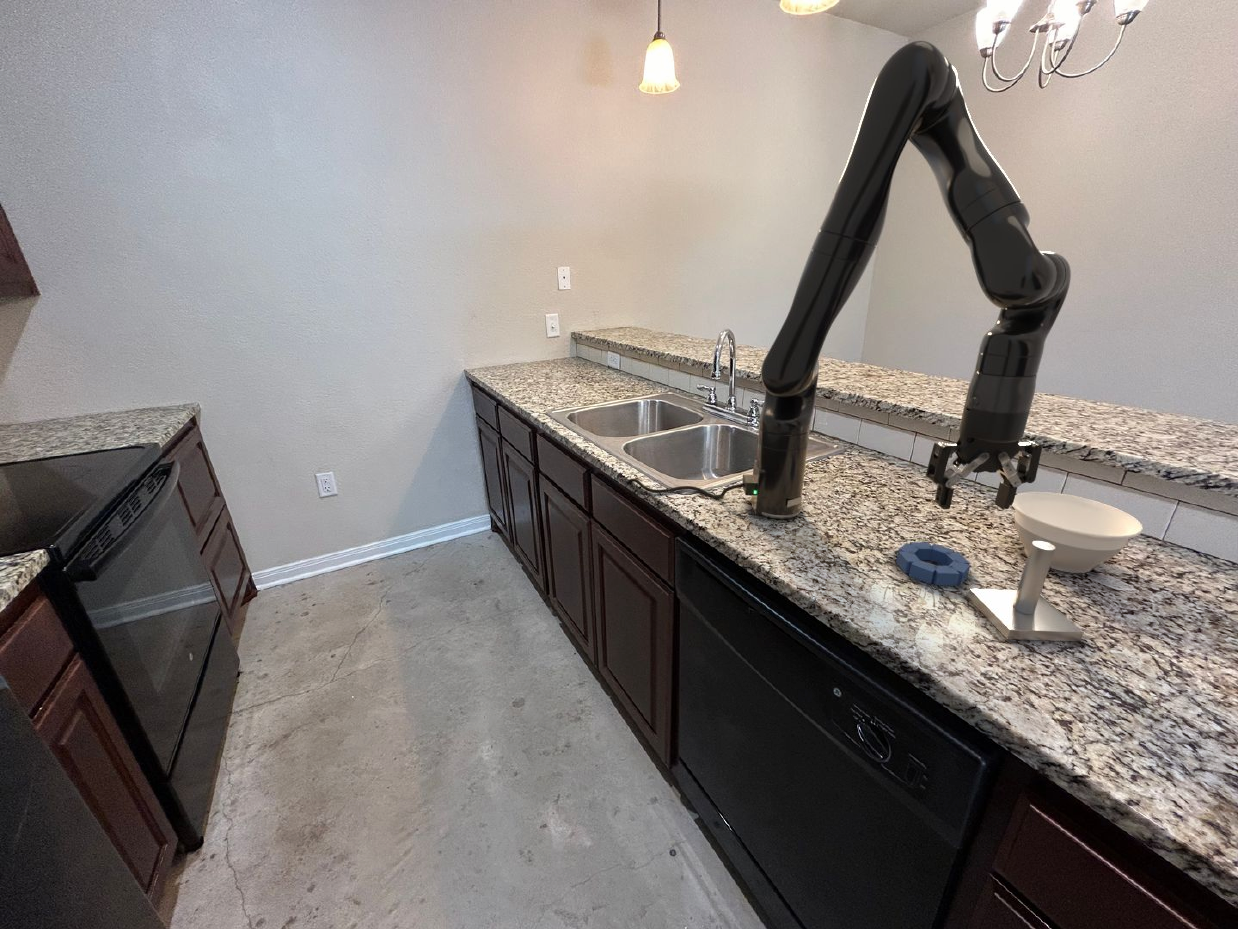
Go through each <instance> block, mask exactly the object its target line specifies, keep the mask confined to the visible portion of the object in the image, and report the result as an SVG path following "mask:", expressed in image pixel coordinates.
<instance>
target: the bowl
mask: <svg viewBox="0 0 1238 929" xmlns="http://www.w3.org/2000/svg"><path fill="white" fill-rule="evenodd" d="M1011 506H1012V508H1013V509H1014V510H1015V514H1014V528H1015V530H1016V533H1017V536H1018V539H1019V540H1020V542H1021V543H1022V545H1023V547H1024V554H1025V555H1026V557H1028V554H1029V551H1030V548H1031V545H1032V542H1033V541H1043V542H1047V543H1049V544H1052V545H1053V546H1055V548H1056V550H1055V553H1054V556H1053V559H1052V562H1051V565H1050V568H1049V569H1053V570H1057V571H1059V572H1067V573H1072V574H1084V573H1085V574H1086V573H1089V572H1091V571H1092V570H1093V568H1094V567H1097V566H1099V565H1101V564H1103V563H1105V562H1107V561H1109V560H1110V559H1112V558H1114V557H1115V556H1117V555H1119V553H1120V552H1121V551H1122V550H1123V549H1124V548H1125V547H1126V545H1127V544H1128V542H1129V539H1131V538H1136V537H1138V536H1139V535H1141V534H1142V533H1143V532H1144V528H1143V524H1142V522H1140V520H1138V519H1137V518H1136V517H1134V516H1133V515H1131V514H1129V513H1128V512H1126V511H1123V510H1121V509H1119V508H1117V507H1115V506H1112V505H1109V504H1106V503H1104V502H1100V501H1098V500H1097V501H1096V500H1093V499H1090V498H1086V497H1081V496H1078V495H1072V494H1065V493H1059V492H1050V491H1025V492H1020V493H1018V494H1017V493H1016V495H1015V498H1014V502H1013V504H1012V505H1011Z"/></svg>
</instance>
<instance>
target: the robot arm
mask: <svg viewBox="0 0 1238 929" xmlns="http://www.w3.org/2000/svg"><path fill="white" fill-rule="evenodd" d="M965 101H966V100H965V98H964V94H963V92H962V88H961V85H960V81H959V79H958V72H957V70H956V68H955V66H954V65H953V64H952V63H951V61H950V60H949V59H948V58H947V57H946V55H945V54H944V53H943V52H942V51H941V50H940V49H939V48H938V47H937V46H936V45H934V44H933V43H931V42H929V41H928V40H927V41H926V40H915V41H914V40H913V41H911V42H909V43H906V44H905V45H903V46H902V47H901V48H898V50H896V51H895V52H894V53H893V54H892V55H891V56H890V57H889V58H888V60H886V62H885V63H884V65H883V66H882V67H881V69H880V71H879V72H878V74H877V76H876V78H875V81H874V82H873V85H872V87H871V89H870V93H869V95H868V98H867V102H866V104H865V107H864V111H863V114H862V117H861V120H860V123H859V126H858V130H857V133H856V136H855V139H854V142H853V145H852V148H851V151H850V154H849V157H848V160H847V162H846V164H845V167H844V170H843V172H842V174H841V177H840V179H839V181H838V183H837V186H836V188H835V191H834V194H833V197H832V199H831V202H830V204H829V206H828V209H827V211H826V214H825V216H824V218H823V220H822V223H821V224H820V227H819V229H818V231H817V234H816V236H815V238H814V241H813V244H812V245H811V248H810V250H809V253H808V256H807V259H806V261H805V264H804V267H803V269H802V272H801V276H800V278H799V280H798V284H797V286H796V289H795V293H794V296H793V299H792V302H791V305H790V308H789V310H788V313H787V314H786V317H785V320H784V321H783V324H782V325H781V328H780V330H779V331H778V334H777V335H776V338H775V339H774V340H773V343H772V345H771V346H770V348H769V350H768V352H767V353H766V355H765V357H764V359H763V360H762V364H761V367H760V379H761V382H762V385H763V387H764V389H765V394H764V401H763V404H762V408H761V411H760V415H759V423H758V426H759V428H758V440H757V450H756V459H755V460H754V461H753V468H752V474H742V483H739V484H733V485H730V486H727V487H726V488H724V489H723V490H722V492H721V493H720V494H712V493H710V492H709V491H706V490H704V489H703V488H700V487H696V486H692V485H682V486H675V487H670V488H663V489H657V488H656V489H655V488H650V487H648V486H647V485H644V483H642V482H641V481H640V480H639V479H637V478H630V479H628V480H627V481H626V484H631V483H632V482H633V483H636V484H637V485H638V486H640V487H641V488H642V489H643V490H645V491H646V492H649V493H653V494H664V493H672V492H676V491H681V490H692V491H697V492H699V493H701V494H703V495H706V496H708V497H710V498H712V499H716V500H718V499H722V498H724V497H725V495H726V493H727V492H729V491H732V490H735V489H739V488H742V490H743V492H744V495H745V496H750V504H751V508H752V510H753V511H754V514H755V515H756V516H763V517H766V518H769V519H778V520H779V519H780V520H786V519H793V518H796V517H797V516H799V515H800V514H801V511H802V507H801V506H802V499H803V497H802V496H803V489H804V482H805V473H806V464H807V456H808V448H809V439H810V432H811V431H810V430H811V424H812V419H813V415H814V410H815V402H816V397H817V396H816V395H817V388H818V381H819V380H818V379H819V371H820V360H819V357H820V354H821V352H822V349H823V346H824V344H825V341H826V339H827V337H828V335H829V332H830V330H831V327H832V325H833V324H834V323H835V321H836V319H837V317H838V316H839V314H840V313H841V312H842V310H843V308H844V307H845V305H846V304H847V302H848V301H849V299H850V298H851V296H852V295H853V293H854V291H855V289H856V288H857V286H858V284H859V282H860V281H861V279H862V277H863V275H864V273H865V272H866V270H867V268H868V266H869V263H870V261H871V259H872V257H873V255H874V253H875V251H876V249H877V246H878V245H879V242H880V239H881V238H882V234H883V232H884V227H885V224H886V221H887V220H886V218H887V214H888V208H889V202H890V195H891V189H892V183H893V179H894V175H895V172H896V168H897V165H898V162H899V160H900V158H901V156H902V153H903V151H904V149H905V147H906V145H907V143H908V141H909V142H910V144H911V145H912V146H913V147H914V148H915V149H916V150H917V152H918V153H920V154H921V156H922V157H923V159H924V160H925V161H926V163H927V165H928V166H929V168H930V170H931V172H932V174H933V176H934V178H935V181H936V184H937V188H938V190H939V193H940V196H941V199H942V202H943V204H944V207H945V209H946V211H947V213H948V215H949V217H950V219H951V221H952V223H953V224H954V226H955V229H957V231H958V233H959V235H960V236H961V238H962V240H963V242H964V243H965V244H966V247H968V249H969V253H970V259H971V262H972V266H973V269H974V273H975V276H976V280H977V282H978V285H979V287H980V289H981V291H982V293H983V294H984V296H985V297H986V298H987V300H988V301H989V302H990V303H991V304H993V305H994V306H995V307H997V308H1000V311H999V314H998V316H997V319H996V321H995V324H994V325H993V327H992V328H990V329H989V330H987V331H986V332H985V334H984V335H983V336H982V338H981V341H980V344H979V347H978V348H979V349H978V352H977V357H976V362H975V366H974V371H973V374H972V376H971V379H970V382H969V384H968V388H967V392H966V398H965V402H964V406H963V411H962V416H961V419H960V424H959V429H958V430H959V437H958V439H957V441H956V442H955V443H946V442H943V441H941V440H937V441H935V442H934V443H933V445H932V446H933V447H932V449H931V450H932V451H931V453H930V458H929V462H928V464H927V468H926V472H925V477H926V478H928V479H929V480H930V481H932V482H933V483H934V484H936V485H937V488H936V492H935V498H934V501H935V503H937V505H938V506H939V507H940V508H941V509H942V510H950V509H951V505H952V501H953V496H954V493H955V487H954V486H955V485H956V484H958V482H960V480H961V479H966V478H967V477H968V476H970V474H972V473H973V474H980V473H985V472H987V473H995V474H996V473H998V475H999V476H1000V478H1001V480H1002V481H999V484H998V489H997V492H996V496H995V500H994V504H995V506H997V507H998V508H1000V509H1001V510H1008V509H1010V507H1011V506H1012V504H1013V502H1014V498H1015V495H1017V491H1018V488H1019V487H1020V486H1021V485H1023V484H1026V483H1028V484H1033V483H1034V482H1035V481H1036V478H1037V473H1038V469H1039V466H1040V465H1039V464H1040V459H1041V455H1042V451H1043V446H1042V445H1041V444H1038V443H1036V442H1034V441H1032V440H1030V439H1025V440H1023V441H1022V442H1020V440H1022V439H1023V437H1024V434H1025V430H1026V427H1027V423H1028V419H1029V415H1030V412H1031V409H1032V404H1033V401H1034V397H1035V393H1036V388H1037V387H1036V386H1037V378H1038V372H1039V369H1040V365H1041V361H1042V357H1043V354H1044V350H1045V344H1046V340H1047V338H1048V336H1049V334H1050V332H1051V331H1052V329H1053V327H1054V325H1055V323H1056V320H1057V318H1058V316H1059V314H1060V312H1061V310H1062V307H1063V305H1064V303H1065V301H1066V299H1067V295H1068V292H1069V290H1070V285H1071V280H1072V270H1071V266H1070V263H1069V261H1068V260H1067V259H1066V258H1065V257H1064V256H1063V255H1061V254H1060V253H1057V252H1054V251H1047V250H1044V251H1043V250H1042V251H1041V250H1040V249H1039V248H1038V247H1037V245H1036V244H1035V242H1034V240H1033V238H1032V236H1031V234H1030V232H1029V230H1028V227H1029V225H1030V222H1031V217H1030V213H1029V211H1028V209H1027V207H1026V205H1025V203H1024V202H1023V200H1022V198H1021V197H1020V195H1019V194H1018V192H1017V190H1016V189H1015V187H1014V185H1013V184H1012V182H1011V181H1010V179H1009V178H1008V176H1007V174H1006V173H1005V171H1004V170H1003V169H1002V167H1001V166H1000V164H999V163H998V162H997V160H996V159H995V158H994V156H993V155H992V154H991V152H990V151H989V149H988V148H987V146H986V145H985V143H984V141H983V140H982V138H981V137H980V135H979V133H978V131H977V129H976V127H975V124H974V123H973V121H972V119H971V118H972V117H971V115H970V113H969V111H968V108H967V105H966V104H967V103H966V102H965ZM954 453H955V455H956V456H954V457H953V455H954ZM1017 455H1018V458H1017V463H1016V467H1015V466H1014V464H1013V463H1012V459H1014V458H1015V457H1016V456H1017ZM949 459H951V460H950V461H949ZM961 465H962V467H960V466H961Z"/></svg>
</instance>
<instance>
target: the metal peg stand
mask: <svg viewBox="0 0 1238 929" xmlns="http://www.w3.org/2000/svg"><path fill="white" fill-rule="evenodd" d="M1055 550H1056V548H1055V546H1053V545H1052V544H1049V543H1047V542H1043V541H1033V542H1032V545H1031V548H1030V551H1029V554H1028V556H1026V557H1027V558H1026V561H1025V564H1024V566H1023V567H1024V568H1023V569H1022V574H1021V577H1020V580H1019V583H1018V586H1017V589H997V588H996V589H993V588H992V589H991V588H969V589H968V594H967V599H968V600H969V601H970V602H971V603H972V604H973V605H974V606H975V607H976V609H978V611H980V612H981V613H982V615H983V616H984V617H985V618H986V619H987V620H988V621H989V622H990V623H991V624H992V625H993V626H994V627H995V628H996V629H997V630H998V631H999V633H1000V634H1001V635H1002V636H1004V638H1005V639H1006V640H1019V641H1020V640H1022V641H1049V642H1050V641H1052V642H1053V641H1055V642H1056V641H1057V642H1081V641H1082V639H1083V636H1084V634H1085V631H1084V630H1082V629H1081V628H1080V627H1079V626H1077V625H1076V623H1074V622H1073V621H1072V620H1071V619H1070V618H1068V617H1067V616H1066V615H1065V614H1063V613H1062V612H1061V611H1059V609H1058V608H1056V607H1055V606H1054V605H1053V604H1052V603H1051V602H1049V601H1048V600H1047V599H1046V598H1045V597H1044V596H1042V595H1041V594H1042V591H1043V588H1044V586H1045V582H1046V579H1047V576H1048V573H1049V570H1050V569H1051V568H1050V565H1051V562H1052V559H1053V556H1054V553H1055Z"/></svg>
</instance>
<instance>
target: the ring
mask: <svg viewBox="0 0 1238 929" xmlns="http://www.w3.org/2000/svg"><path fill="white" fill-rule="evenodd" d="M926 561H931V562H933V563H936V564H939V565H934V564H931V563H929V562H926ZM970 563H971V562H969V561H968V560H967V559H966V558H965V557H964V556H963V555H962V554H961V553H960V552H955V550H954V549H952V548H949V547H946V546H943V545H940V544H937V543H933V544H931V543H930V542H925V541H920V542H919V541H910V542H909V543H908V542H905V543H904V544H903V545H902V546H900V547H899V548H898V550H897V557H896V564H897V566H898V567H899V568H900V569H901V570H902V571H903V573H904V574H908V576H909V577H910V578H913V579H916V580H918V581H921V582H924V583H925V584H929V585H931V584H932V583H933V584H934V585H935V586H945V587H946V586H949V587H956V586H958V585H960V586H961V585H962V584H963V583H964V582H965V581H966V579H967V578H968V575H969V572H970V570H971V565H970Z"/></svg>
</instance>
